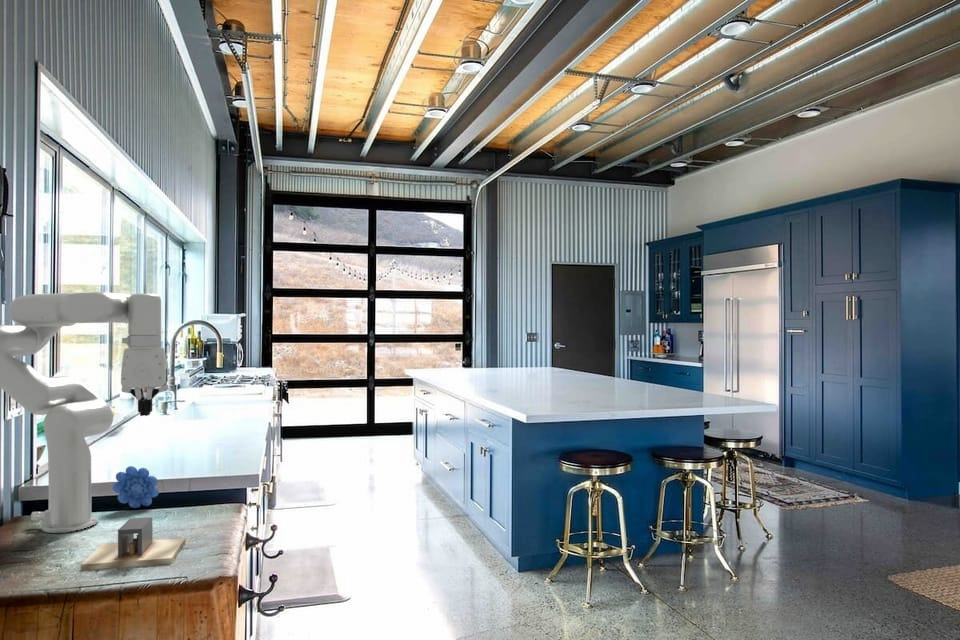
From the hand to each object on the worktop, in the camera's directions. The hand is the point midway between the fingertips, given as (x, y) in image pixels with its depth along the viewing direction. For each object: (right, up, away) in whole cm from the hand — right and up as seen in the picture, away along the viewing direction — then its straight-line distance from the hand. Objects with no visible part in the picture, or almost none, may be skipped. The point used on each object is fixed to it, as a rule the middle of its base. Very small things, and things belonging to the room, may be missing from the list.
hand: (145, 415), depth 173 cm
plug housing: (+7, -28, -19) cm, 34 cm away
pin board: (+7, -29, -19) cm, 35 cm away
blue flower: (-12, -29, +20) cm, 38 cm away
